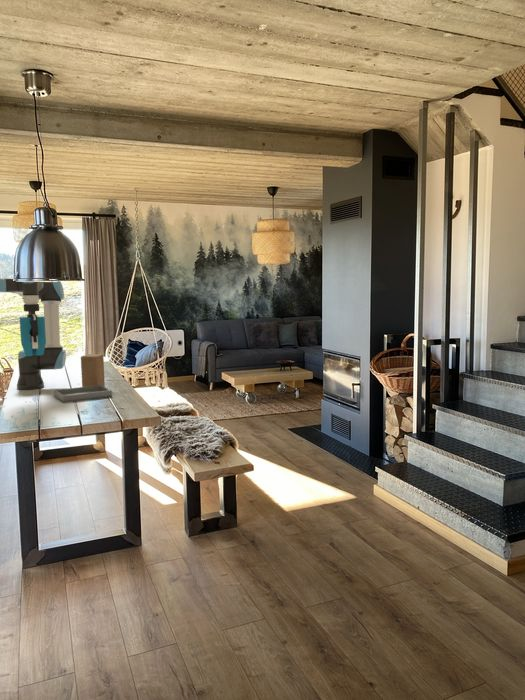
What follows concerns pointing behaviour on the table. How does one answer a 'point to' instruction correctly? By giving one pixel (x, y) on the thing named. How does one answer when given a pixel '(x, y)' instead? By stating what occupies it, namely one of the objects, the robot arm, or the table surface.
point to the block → (25, 336)
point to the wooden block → (92, 370)
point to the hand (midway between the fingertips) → (34, 347)
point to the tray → (82, 393)
